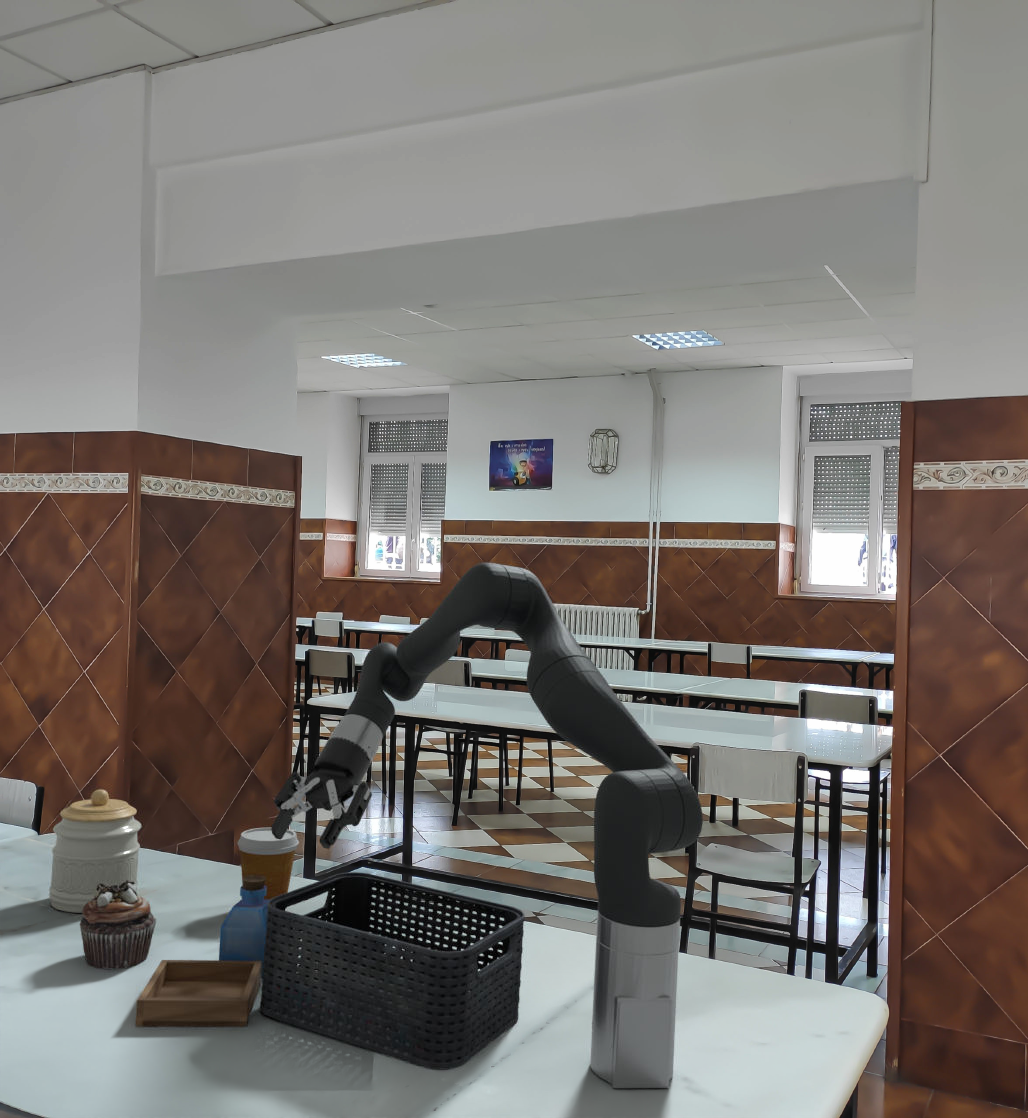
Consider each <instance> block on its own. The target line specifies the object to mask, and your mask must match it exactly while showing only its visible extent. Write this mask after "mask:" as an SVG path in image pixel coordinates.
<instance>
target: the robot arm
mask: <svg viewBox="0 0 1028 1118" xmlns="http://www.w3.org/2000/svg"><path fill="white" fill-rule="evenodd" d="M473 626H480V627H483V628H489V629H497V630H504V631H510V632H513V633H515V634H516V635H517V636H518V637H519V638H520V639H521V640H522V641H523V643H524V645H525V646H526V647H527V649H528V650H529V654H530V657H529V661H528V665H527V669H526V670H527V671H526V685H527V690H528V694H529V695H530V697H531V699H532V701H533V703H534V704H535V706H536V707H537V709H538V711H539V712H540V714H541V716H542V717H543V718H544V720H545V722H546V723H547V724H548V725H549V726H550V728H551V729H552V730H553V732H555V733H556V734H557V735H558V736H559V737H561V738H562V739H564V740H565V741H566V742H567V743H569V744H570V745H571V746H573V747H575V748H577V749H578V750H580V751H581V752H583V753H585V754H586V755H588V756H589V757H591V758H592V759H594V760H596V761H598V762H599V763H600V764H602V765H603V766H605V767H606V768H607V769H609V771H611V773H608V775H606V776H605V777H604V778H603V779H602V781H601V782H600V784H599V787H598V790H597V793H596V797H595V801H594V810H593V848H594V849H593V876H594V877H593V878H594V883H595V889H596V894H597V919H596V937H595V938H596V939H595V958H594V960H595V961H594V974H593V975H594V976H593V977H594V978H593V979H594V980H593V999H592V1016H591V1017H592V1018H591V1019H592V1021H591V1039H590V1040H591V1043H590V1044H591V1046H590V1068H591V1070H592V1072H593V1073H594V1074H595V1075H596V1076H598V1077H599V1078H601V1079H603V1080H604V1081H606V1082H608V1083H610V1085H611V1086H612V1088H614V1089H663V1088H664V1089H665V1088H667V1089H669V1087H670V1080H671V1079H672V1077H673V1075H674V1062H675V1061H674V1060H675V1059H674V1058H675V1038H676V1037H675V1036H676V1035H675V1034H676V1013H677V1011H676V1009H677V993H678V992H677V991H678V989H677V988H678V969H679V965H678V964H679V947H680V946H679V945H680V929H681V928H680V926H681V910H682V909H681V907H682V897H681V895H680V893H679V891H678V890H677V889H676V888H675V887H674V886H672V885H670V884H669V883H666V882H663V881H661V880H659V879H656V878H655V879H654V878H652V877H651V874H650V862H649V860H650V859H649V855H650V854H659V853H667V852H674V851H678V850H682V849H685V848H687V847H689V846H691V845H693V844H694V843H695V842H697V840H698V839H699V838H700V835H701V833H702V829H703V823H704V819H703V818H704V817H703V816H704V815H703V814H704V813H703V810H702V804H701V802H700V798H699V795H698V794H697V792H696V789H695V787H694V786H693V784H692V783H691V781H690V779H689V778H688V777H687V776H686V774H685V773H684V772H683V771H682V769H680V767H679V766H677V763H675V762H674V761H673V760H672V759H671V757H669V756H668V754H666V753H665V752H664V750H663V749H662V748H661V747H660V746H659V745H658V744H657V743H656V742H655V741H654V740H653V738H651V737H650V736H649V735H648V734H647V732H646V731H645V730H644V729H643V728H642V726H641V725H640V723H638V722H637V720H636V718H634V716H633V715H632V713H631V712H630V711H629V710H628V708H627V707H626V706H625V705H624V704H623V702H622V701H621V700H620V699H619V697H618V696H617V694H616V693H615V692H614V690H613V689H612V688H611V686H610V684H609V683H608V681H607V680H606V678H605V677H604V676H603V674H602V673H601V672H600V670H599V669H598V668H597V667H598V666H596V665H595V663H594V662H593V660H592V659H591V658H590V657H589V656H588V655H587V653H586V652H585V651H584V649H583V648H582V647H581V645H580V644H579V643H578V641H577V640H576V638H575V637H574V636H573V633H571V631H570V630H569V628H568V627H567V625H566V624H565V622H564V620H563V619H562V618H561V616H560V614H559V613H558V610H557V609H556V607H555V605H554V603H553V602H552V600H551V598H550V596H549V594H548V592H547V590H546V589H545V586H543V583H542V582H541V581H540V580H539V578H538V577H537V576H536V575H535V574H534V573H533V572H532V571H530V570H528V569H526V568H524V567H517V566H512V565H506V564H501V563H494V562H479V563H477V564H475V565H474V566H472V567H471V568H469V570H468V569H467V571H466V572H465V573H463V575H462V577H461V578H460V579H459V580H458V581H457V582H456V584H455V585H454V586H453V587H452V588H451V590H450V591H449V593H447V595H446V596H445V598H444V599H443V600H442V601H441V603H440V604H439V606H438V607H437V608H436V609H435V610H434V612H432V614H431V616H429V618H427V619H426V620H425V621H424V622H422V623H421V625H419V626H418V627H417V628H415V629H413V631H412V632H410V633H408V634H407V635H405V636H404V637H403V638H402V639H401V640H400V642H399V643H398V645H397V646H396V645H394V644H393V643H391V642H387V641H383V642H380V643H377V644H375V645H374V646H372V648H370V650H369V651H368V652H367V654H366V656H365V658H364V660H363V662H362V666H361V672H360V676H359V681H358V685H357V689H356V692H355V695H354V697H353V700H352V701H351V704H350V705H349V707H348V709H347V710H346V712H345V714H344V715H343V717H342V718H341V720H340V721H339V722H338V723H337V724H336V726H335V728H334V729H333V731H332V733H331V734H330V736H329V738H328V740H327V741H326V743H325V744H324V747H323V748H322V750H321V751H320V753H319V755H318V757H317V759H316V760H315V763H314V768H313V771H312V772H311V773H310V774H309V775H308V776H301V775H300V774H299V773H298V772H297V771H293V772H291V774H290V776H289V777H288V778H287V780H286V781H285V782H284V784H283V786H282V787H281V789H280V790H279V792H278V793H277V794H276V796H275V798H274V799H273V804H274V805H275V807H276V808H277V810H278V811H279V813H278V815H277V817H276V818H275V820H274V821H273V823H272V825H271V827H270V828H271V830H272V834H273V835H274V837H275V838H276V839H282V838H283V836H284V834H285V832H286V831H287V829H289V827H290V826H291V823H292V822H293V821H294V819H293V818H294V817H296V816H298V815H299V814H300V813H302V812H303V813H306V812H308V811H309V810H311V809H312V808H313V809H316V810H317V809H323V810H325V811H329V812H331V810H332V816H333V818H330V820H329V821H328V823H327V825H326V826H325V828H324V830H323V832H322V834H321V836H320V838H319V840H318V841H319V843H320V845H321V846H322V848H323V849H328V850H329V849H330V848H331V846H334V844H335V843H336V842H337V840H338V838H339V836H340V834H341V832H342V831H343V829H344V828H346V827H347V826H352V827H357V826H358V825H360V822H361V820H362V818H363V816H364V813H365V812H366V810H367V807H368V805H369V802H370V801H371V799H372V796H373V793H372V791H371V789H370V788H369V786H368V784H367V783H366V782H362V780H363V778H364V776H366V773H367V771H368V769H369V767H370V766H371V764H372V761H373V760H374V758H375V756H376V755H377V752H378V750H379V748H380V746H381V743H382V740H383V739H384V736H385V734H386V732H387V731H388V729H389V727H390V725H391V723H392V722H393V720H394V717H395V714H396V708H395V706H394V704H393V702H392V701H391V699H390V698H389V697H388V696H390V697H391V698H392V699H394V700H396V701H399V702H408V701H410V700H413V699H414V698H416V696H417V695H418V694H419V692H421V689H422V688H423V686H424V684H425V682H426V680H427V678H428V677H429V676H430V675H431V674H432V673H433V672H434V671H435V670H437V669H438V668H440V667H441V666H442V665H444V664H445V663H447V662H448V661H449V660H450V659H452V657H454V655H455V654H456V652H457V651H458V648H459V646H460V641H461V631H464V630H465V629H468V628H470V627H473ZM387 695H388V696H387ZM304 797H305V799H306V801H304V800H303V798H304ZM350 798H352V799H351V801H350V803H349V806H348V808H346V805H345V804H346V803H345V802H346V801H348V800H349V799H350Z"/></svg>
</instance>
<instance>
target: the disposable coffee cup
mask: <svg viewBox="0 0 1028 1118" xmlns="http://www.w3.org/2000/svg"><path fill="white" fill-rule="evenodd" d="M271 828H272V827H257V828H250V829H247V830H244V831H242V832H241V833H240V837H239V839H238V840H237V843H236V844H237V845H238V848H239V852H240V865H241V867H240V868H241V879H242V878H243V877H245V876H249V875H260V876H264V877H266V880H265V884H264V885H265V886H266V887H267V889H266V896H264V899H267V900H270V899H272V898H274V897H276V896H279V895H282V894H285V893H288V892H289V887H290V881H291V877H292V876H291V875H292V870H293V865H294V859H295V854H296V850H297V848H298V846H299V844H300V841H299V840H298V836H297V835H298V834H297V832H295V831H294V830H292V829H289V828H288V829H287V831H286V832H285V834H284V836H283V838H282V839H276V838H275V837H274V835H273V834H272V830H271ZM241 882H242V881H241ZM241 886H243V882H242V885H241Z"/></svg>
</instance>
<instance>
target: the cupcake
mask: <svg viewBox="0 0 1028 1118" xmlns="http://www.w3.org/2000/svg"><path fill="white" fill-rule="evenodd" d="M133 884H135V883H134V881H133V882H130V881H129V880H127V881H126V882H124V883H122V884H121V885H120V886H118V885H112V886H111V887H110V886H107V885H104V884H99V885H98V886H97V887H98V888H97V889H96V890H95V893H94V897H95V898H94V899H91V900H90V901H89V902H88V903H87V904H86V905H85V906H84V908H83V910H82V913H81V914H82V917H81V920H80V921H79V922H80V923H79V928H80V934H81V939H82V947H83V953H84V954H83V955H84V958H85V960H86V964H87V965H88V966H89V967H93V968H96V969H102V970H118V969H125V968H132V967H134V966H137V965H139V964H141V963H143V962H145V961H146V960H147V959H148V956H149V953H150V949H151V948H150V947H151V944H152V943H151V942H152V940H153V934H154V932H155V928H156V924H157V918H156V917H155V916H154V915H153V913H152V912H151V905H150V903H149V902H150V901H148V900H147V899H146V897H145V898H144V897H142V896H139V895H138V893H137V892H138V887H137V888H136V886H135V885H133ZM136 891H137V892H136Z"/></svg>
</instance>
